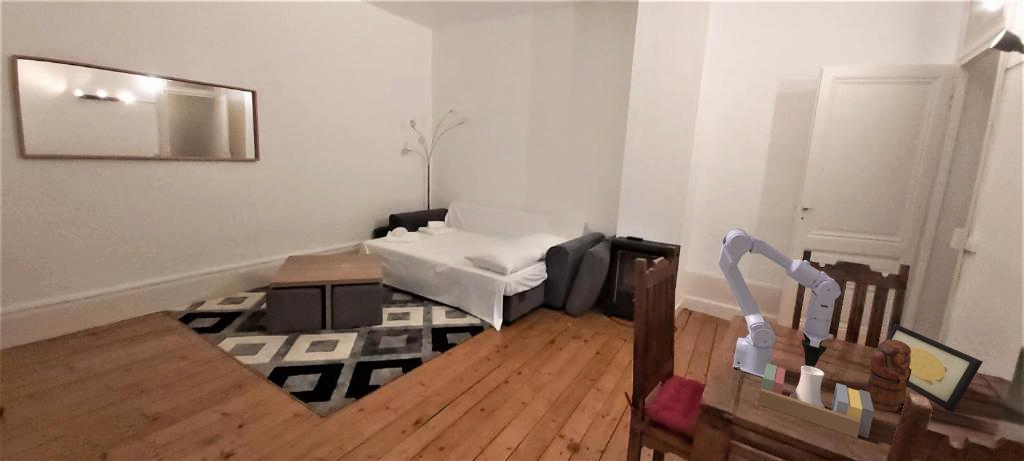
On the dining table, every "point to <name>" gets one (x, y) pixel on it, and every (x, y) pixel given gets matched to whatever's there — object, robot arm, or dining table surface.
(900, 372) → the wooden figurine
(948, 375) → the picture frame
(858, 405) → the book row
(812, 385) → the vase
